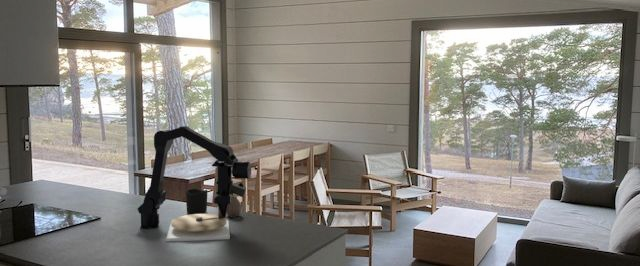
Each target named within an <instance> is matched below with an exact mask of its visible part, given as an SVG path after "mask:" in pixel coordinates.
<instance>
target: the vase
mask: <svg viewBox="0 0 640 266" xmlns="http://www.w3.org/2000/svg"><path fill="white" fill-rule="evenodd" d="M230 196H231V198H232V201H231V203H230V204H228V207H227V212H226V216H228V217H229V218H235V217H236V218H237V217H238V216H239V215H240V214H241V213H242V204H241V201H240V200H239V199H238V197H237V195H230Z"/></svg>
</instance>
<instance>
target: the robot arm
mask: <svg viewBox="0 0 640 266" xmlns="http://www.w3.org/2000/svg"><path fill="white" fill-rule="evenodd" d="M178 138H184V139H186V140H187V141H189V142H191V143H193V144H194V145H197V146H198V147H200V148H202V149H204V150H206V152H208V153H209V154H210V155H211V156H212V157H214V159H215V161H214V162H213V163H212V164H211V167H216V183H215V184H216V193H215V194H216V195H215V196H214V198H213V204H216V205H217V207H219V209H220V212H221V214H222V216H223V217H225V216H226V217H227V213H226V212H227V207H228V204H230V203H231V201H232V198H231V196H234V195H235V196H239V197H242V198H243V197H244V196H245V192H246V190H247V187H245V186H244V183H243V182H238V184H237V183H234V181H233V179H232V178H233V177H234V179H243V180H250V179H251V177H252V167H251V164H250V163H251V162H250V161H249V160H248V161H247V160H246V161H239V159H238V158H237V156H236V155H235V154H234V150H233V147H231V146H230V145H228V144H224V143H221V142H216V141H214V140H212V139H210V138H208V137H206V136H204V135H203V134H201V133H199V132H197V131H196V130H194V129H192V128H191V127H189V126H187V125H182V126H179V127H177V128H174V129H163V130H158V131H157V132H155V134H154V135H153V146H154V151H155V154H154V161H153V167H152V173H151V178H150V179H151V180H150V186H149V188H148V190H147V191H146V192H145V195H144V196H145V197H144V199H143V203H142V204H140V205H139V206H138V207H137V212H138V214H140V226H139V228H140V229H157V228H158V226H160V214H159V212H158V210H159V209H160V208H161V206H162V205H163V203H164V202H165V201H166V195H167V190H164V189H163V183H164V177H165V173H166V165H167V161H168V153H169V151H170V150H171V148H172V145H173V143H174V140H175V139H178Z"/></svg>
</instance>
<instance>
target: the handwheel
mask: <svg viewBox="0 0 640 266" xmlns="http://www.w3.org/2000/svg"><path fill="white" fill-rule="evenodd" d="M217 207H218V206H217ZM217 212H218V213H217V214H215V213H214V214H213V213H204V214H186V215H181V216H178V217H175V218H174V219H172V220H171V222H172V227H173V228H175V229H178V230H183V231H207V230H213V229H217V228H220V227H223V226H224V225H226V220H227V215H226V216H225V217H223V216H222V214H221V212H220V209H219V207H218V211H217Z"/></svg>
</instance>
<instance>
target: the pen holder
mask: <svg viewBox="0 0 640 266" xmlns="http://www.w3.org/2000/svg"><path fill="white" fill-rule="evenodd" d="M185 199H186V203H185V204H186V213H187V215H191V214H207V211H208V189H204V190H200V189H197V188H190V189H186V190H185Z"/></svg>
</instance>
